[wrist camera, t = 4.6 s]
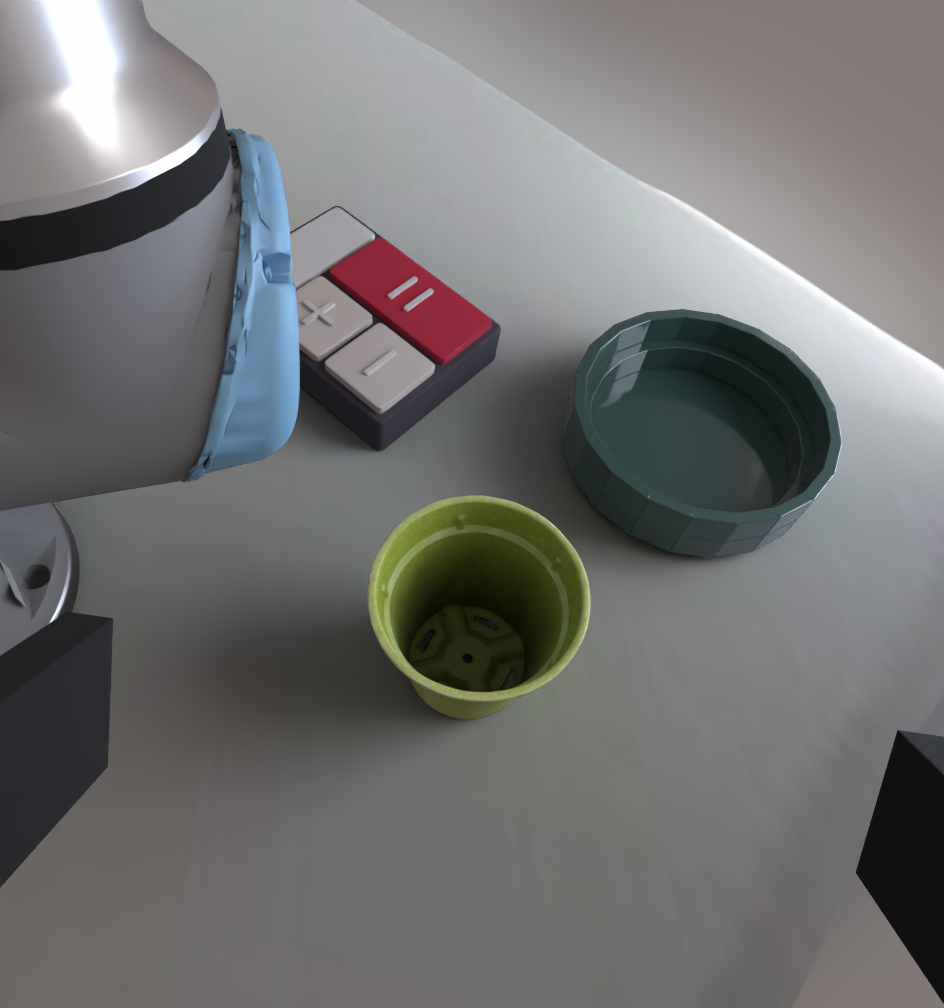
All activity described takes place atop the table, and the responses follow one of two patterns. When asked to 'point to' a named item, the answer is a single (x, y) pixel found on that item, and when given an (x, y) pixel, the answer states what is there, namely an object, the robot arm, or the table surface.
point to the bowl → (698, 432)
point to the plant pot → (478, 602)
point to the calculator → (379, 329)
